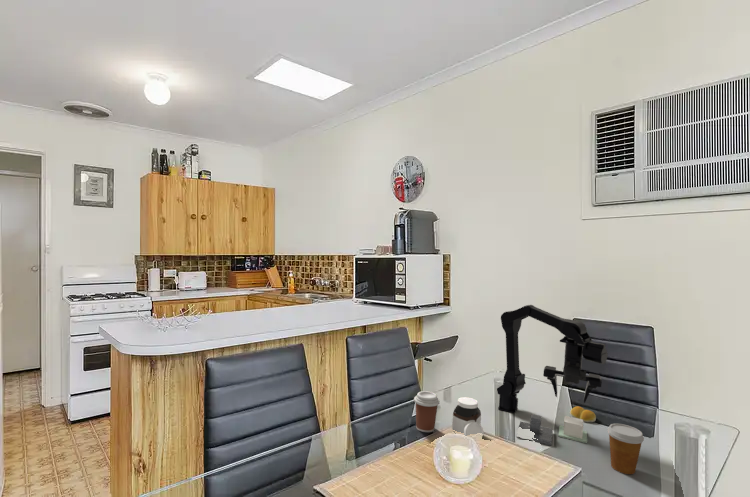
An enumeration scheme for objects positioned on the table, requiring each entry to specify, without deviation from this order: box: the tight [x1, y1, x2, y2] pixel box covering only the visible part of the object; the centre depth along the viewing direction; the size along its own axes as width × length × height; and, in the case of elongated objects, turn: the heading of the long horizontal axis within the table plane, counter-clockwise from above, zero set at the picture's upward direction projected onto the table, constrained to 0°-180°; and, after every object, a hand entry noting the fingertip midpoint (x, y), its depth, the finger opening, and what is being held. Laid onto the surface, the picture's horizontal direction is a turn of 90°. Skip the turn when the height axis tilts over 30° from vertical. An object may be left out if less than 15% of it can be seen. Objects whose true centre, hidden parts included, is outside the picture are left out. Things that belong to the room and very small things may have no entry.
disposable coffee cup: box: [607, 423, 645, 475], centre depth 126 cm, size 10×10×12 cm
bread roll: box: [569, 405, 597, 423], centre depth 163 cm, size 8×9×4 cm
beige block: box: [563, 415, 584, 439], centre depth 148 cm, size 6×6×4 cm
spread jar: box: [451, 396, 484, 436], centre depth 142 cm, size 12×11×12 cm
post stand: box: [518, 414, 554, 447], centre depth 146 cm, size 11×11×6 cm
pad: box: [558, 424, 588, 444], centre depth 148 cm, size 9×9×1 cm
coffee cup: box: [413, 390, 441, 433], centre depth 147 cm, size 9×9×12 cm
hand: (570, 399), depth 150 cm, fingers open, 9 cm apart
